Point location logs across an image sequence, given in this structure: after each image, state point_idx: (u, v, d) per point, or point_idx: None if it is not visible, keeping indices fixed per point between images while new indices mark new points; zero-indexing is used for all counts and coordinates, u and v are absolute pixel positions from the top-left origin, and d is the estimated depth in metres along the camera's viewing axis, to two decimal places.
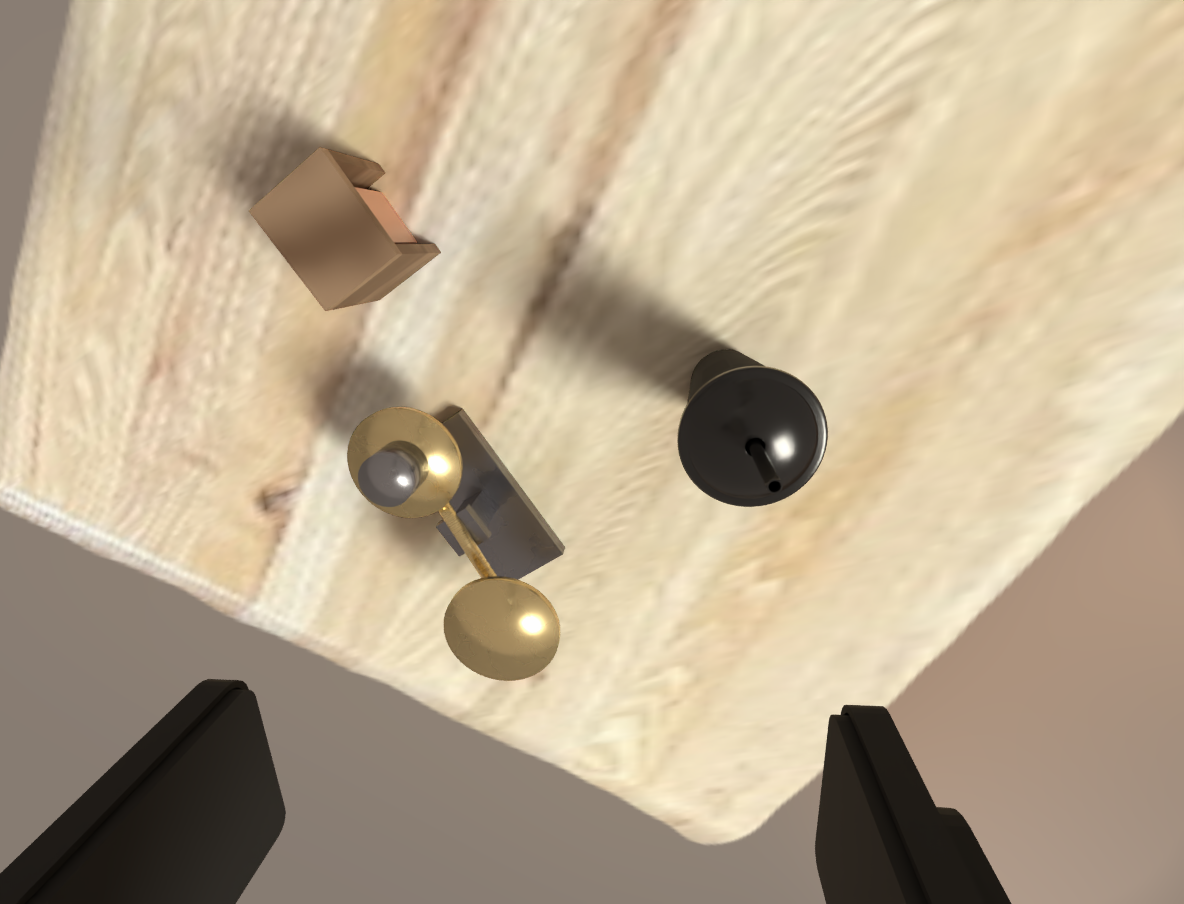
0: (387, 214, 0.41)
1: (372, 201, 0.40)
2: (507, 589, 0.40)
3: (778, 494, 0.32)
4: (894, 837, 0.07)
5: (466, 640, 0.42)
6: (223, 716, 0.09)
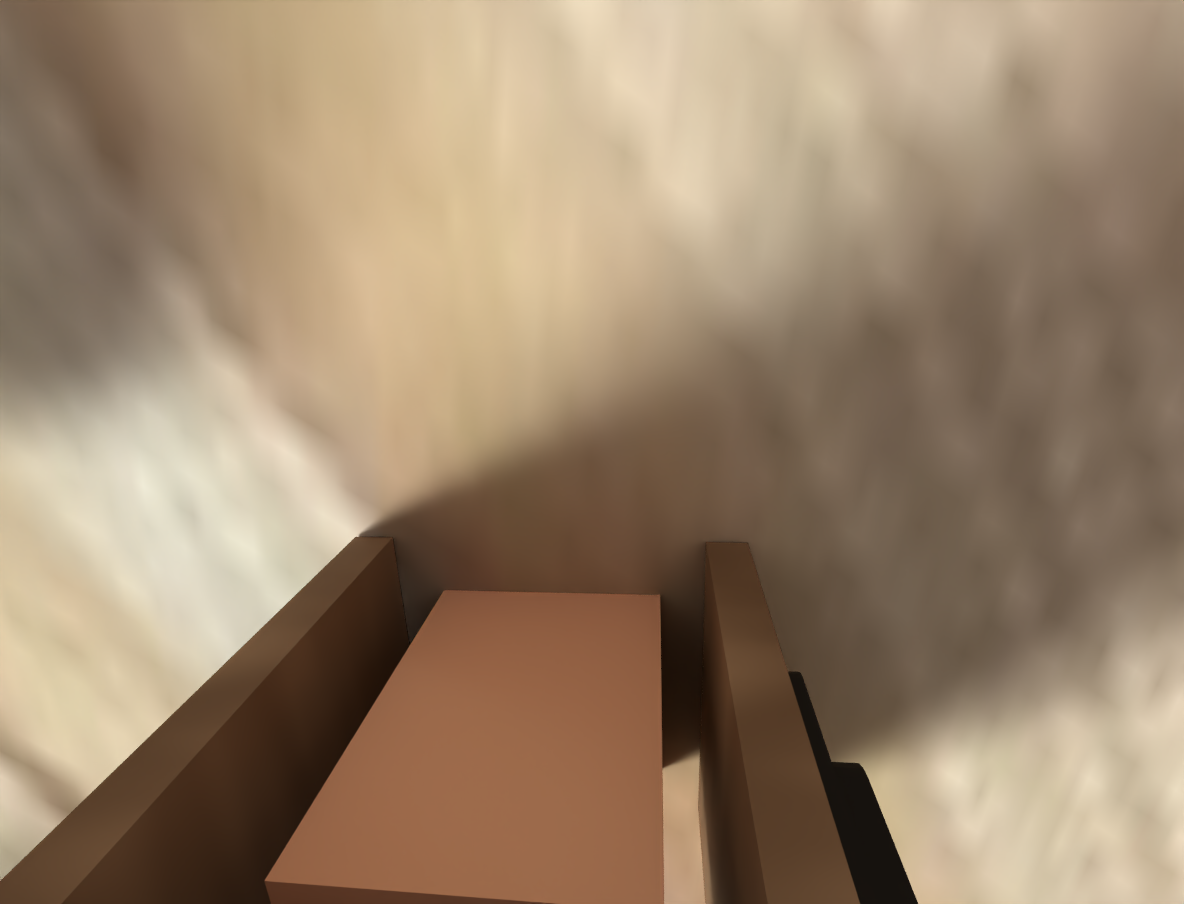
0: None
1: None
2: None
3: None
4: None
5: None
6: None
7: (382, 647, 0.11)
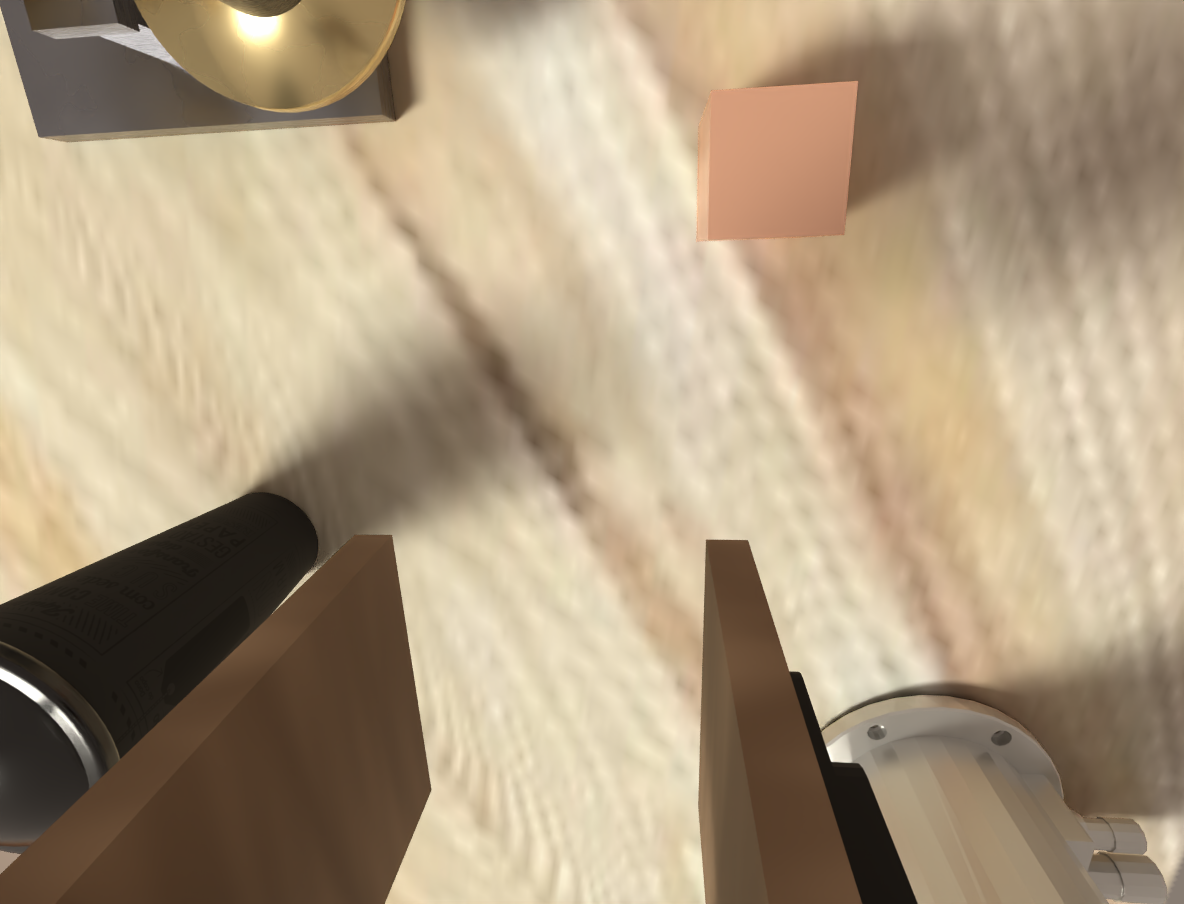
0: None
1: None
2: None
3: None
4: None
5: None
6: None
7: (381, 645, 0.10)
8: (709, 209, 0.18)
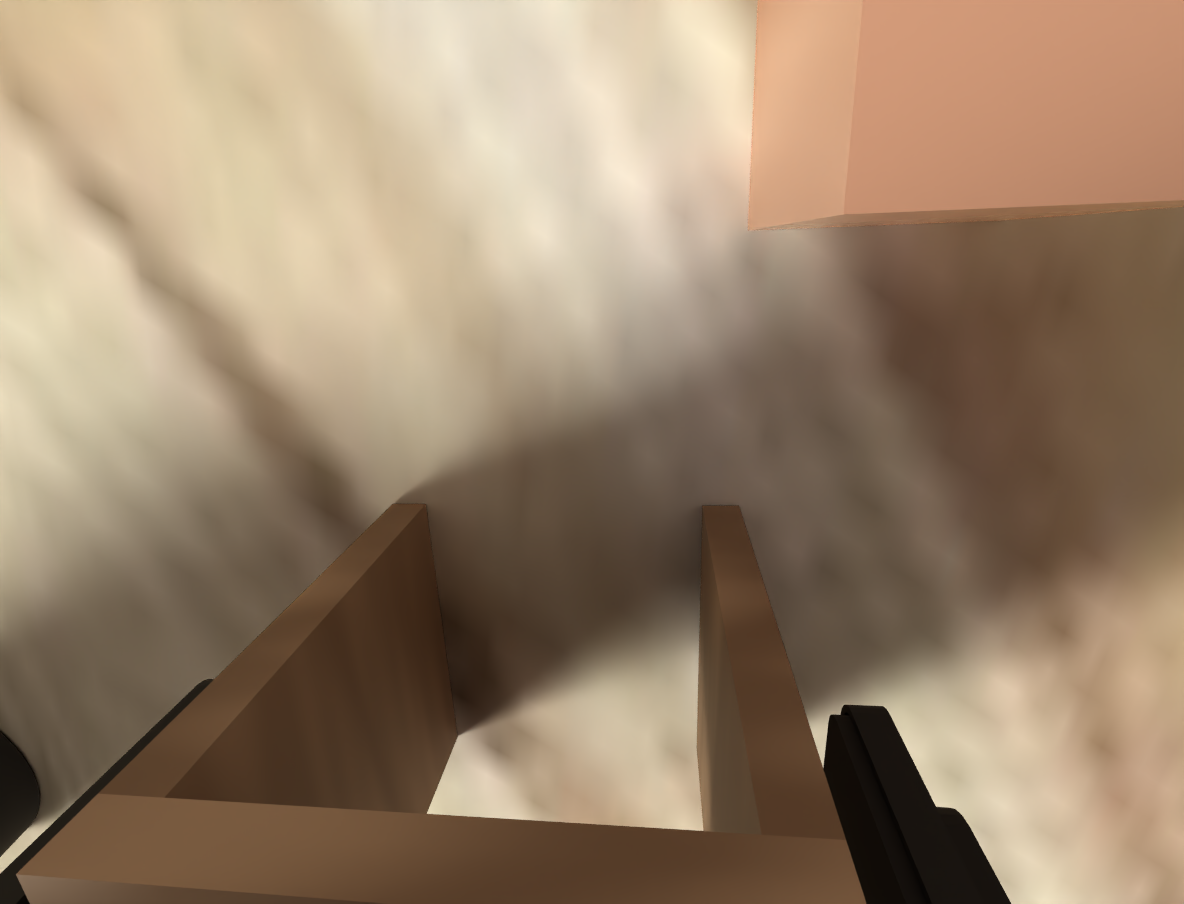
0: (931, 220, 0.08)
1: (1052, 212, 0.07)
2: None
3: None
4: (893, 837, 0.07)
5: None
6: None
7: (418, 599, 0.12)
8: (857, 95, 0.05)
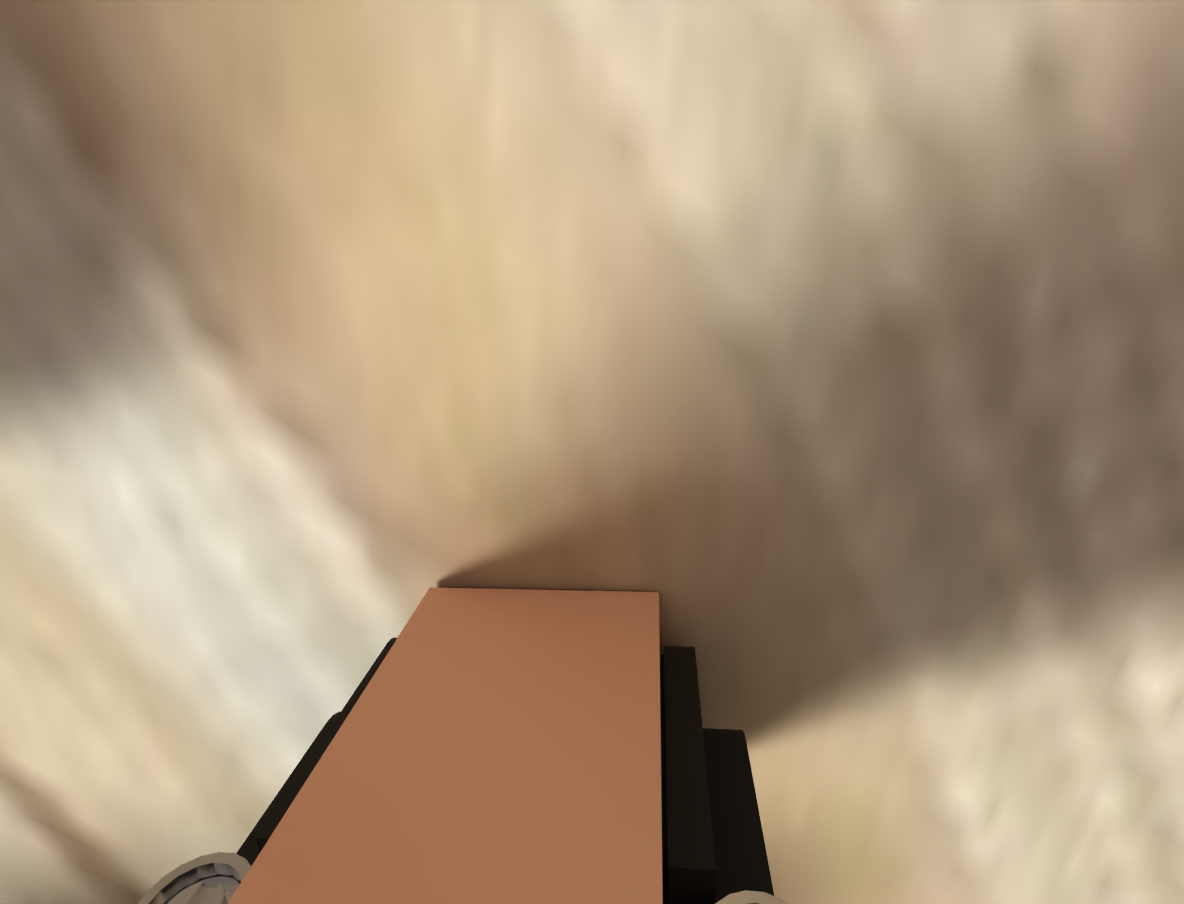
0: None
1: None
2: None
3: None
4: None
5: None
6: None
7: None
8: None
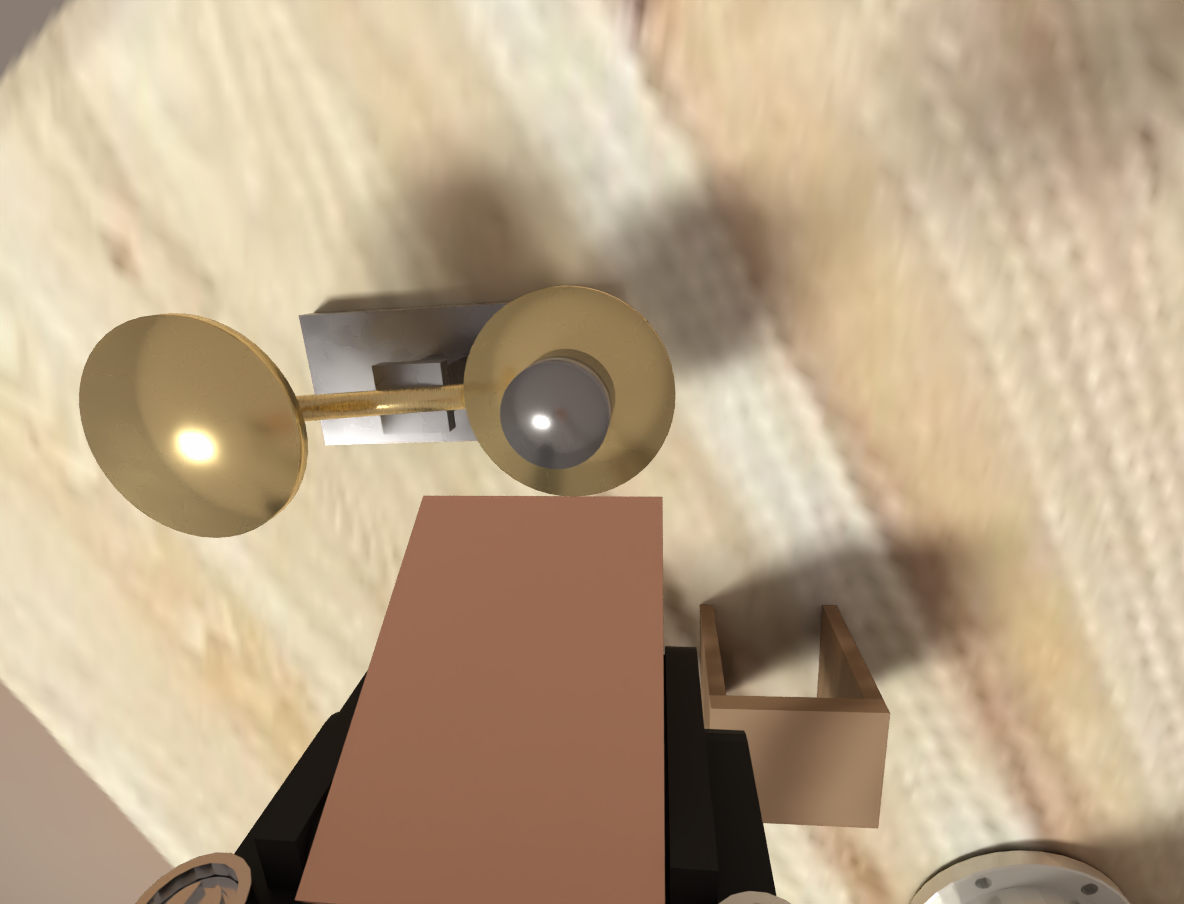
0: None
1: None
2: (269, 495, 0.21)
3: None
4: None
5: (186, 359, 0.20)
6: None
7: None
8: None
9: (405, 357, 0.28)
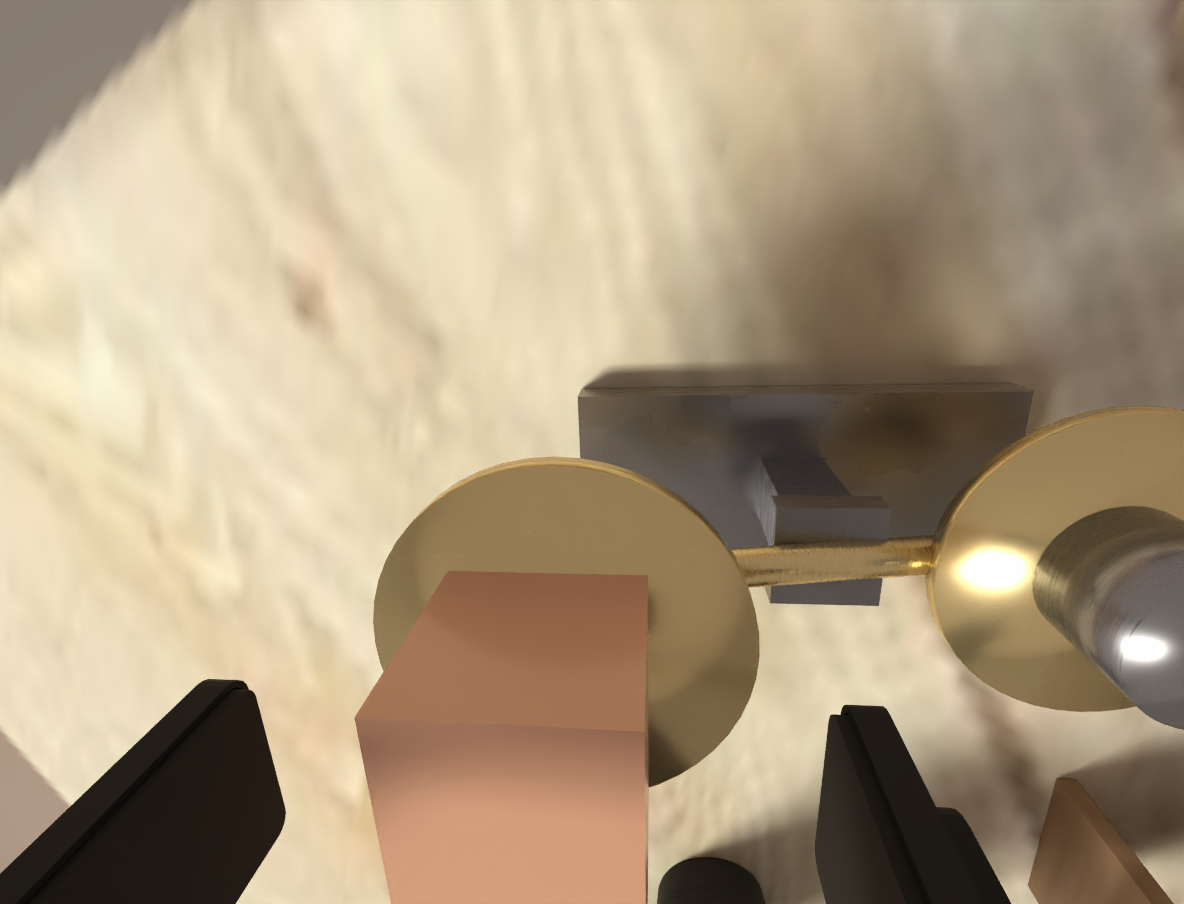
0: None
1: None
2: (680, 746, 0.13)
3: None
4: (894, 837, 0.07)
5: (589, 540, 0.12)
6: (223, 716, 0.09)
7: None
8: None
9: (726, 460, 0.20)
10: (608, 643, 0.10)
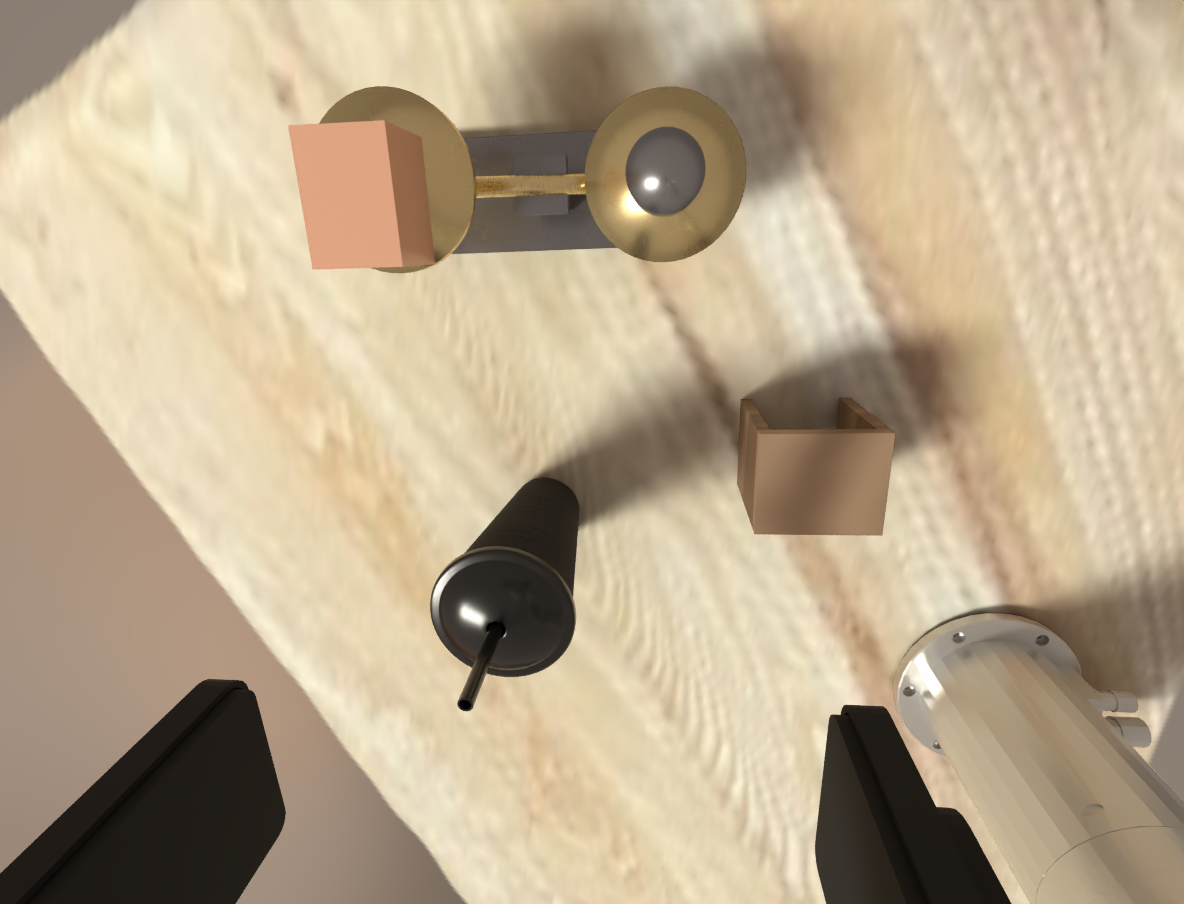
0: None
1: None
2: (446, 236, 0.29)
3: (437, 610, 0.31)
4: (894, 837, 0.07)
5: (396, 123, 0.27)
6: (223, 716, 0.09)
7: None
8: None
9: None
10: None
